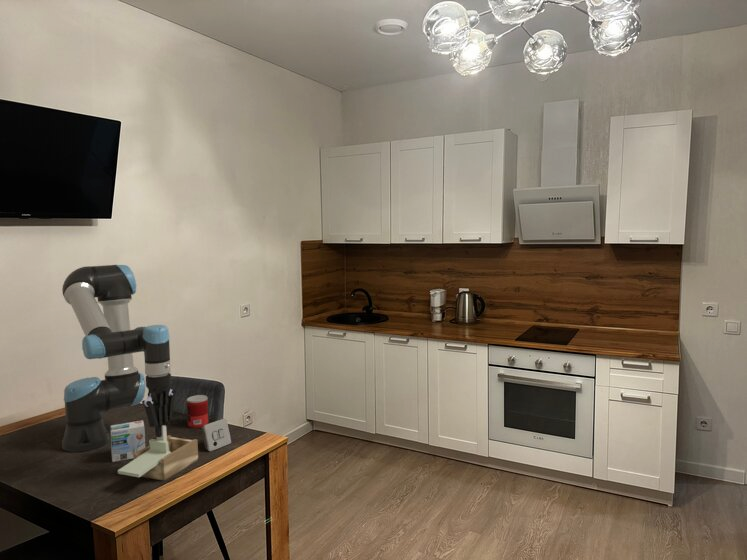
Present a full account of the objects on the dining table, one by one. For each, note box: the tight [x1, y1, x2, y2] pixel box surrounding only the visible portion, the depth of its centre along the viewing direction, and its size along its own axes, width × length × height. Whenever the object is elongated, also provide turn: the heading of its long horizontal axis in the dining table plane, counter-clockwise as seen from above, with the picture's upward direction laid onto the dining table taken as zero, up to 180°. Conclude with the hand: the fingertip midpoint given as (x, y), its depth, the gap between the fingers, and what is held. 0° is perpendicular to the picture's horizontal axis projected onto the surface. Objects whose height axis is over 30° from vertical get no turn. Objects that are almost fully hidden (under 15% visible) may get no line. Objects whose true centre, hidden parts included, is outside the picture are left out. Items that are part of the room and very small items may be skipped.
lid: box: [117, 438, 171, 478], centre depth 163 cm, size 8×14×4 cm, turn 161°
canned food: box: [186, 394, 210, 429], centre depth 209 cm, size 8×8×11 cm
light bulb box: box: [110, 420, 146, 463], centre depth 181 cm, size 11×7×11 cm, turn 118°
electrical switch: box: [200, 418, 232, 452], centre depth 189 cm, size 9×5×9 cm, turn 141°
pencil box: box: [132, 434, 199, 482], centre depth 172 cm, size 12×16×7 cm
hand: (162, 445), depth 170 cm, fingers closed
